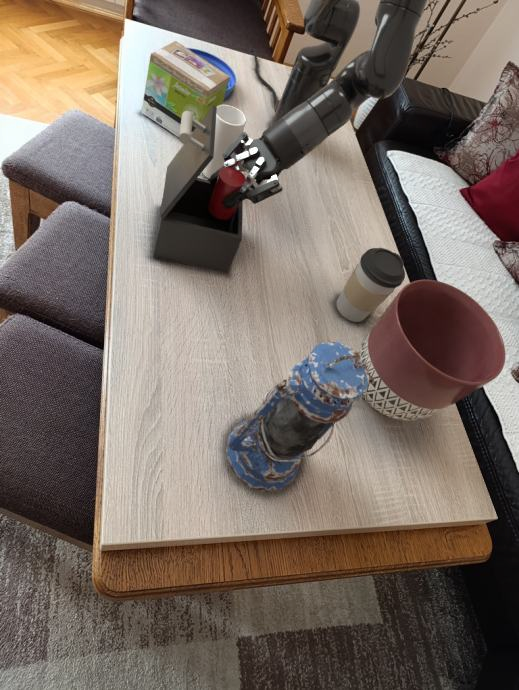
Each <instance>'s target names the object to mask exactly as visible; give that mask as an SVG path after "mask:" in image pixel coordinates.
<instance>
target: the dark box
mask: <svg viewBox="0 0 519 690" xmlns="http://www.w3.org/2000/svg"><path fill="white" fill-rule="evenodd" d="M213 190H214V187H213V186H212V185H211V183H210V182H209V179H204V178H201V177H197V179H196V180H195V181H194V182H193V184H192V185H191V186H190V187H189V188H188V190H187V191H186V192H185V193H184V195H183V196H182V197H181V198H180V199H179V201H178V202H177V203H176V204H175V206H174V207H173V208H172V209H171V211H170V212H169V213H168V214H167V215H166V217H165V218H164V219H163V218H162V217H160V213H161V206H162V202H161V203H160V206H159V207H160V208H159V212H158V213H159V214H158V221H157V228H156V234H155V240H154V246H153V247H154V248H153V253H152V257H153V258H154V259H158V260H163V261H169V262H173V263H177V264H180V265H181V264H182V265H186V266H191V267H196V268H199V269H200V268H201V269H205V270H209V271H215V272H219V273H222V274H223V273H224V274H229V272H230V270H231V267H232V264H233V262H234V259H235V257H236V254H237V253H238V250H239V247H240V246H241V243H242V240H243V211H244V210H243V209H244V208H243V207H244V206H243V205H244V203H243V202H244V200H243V201H242V202H241V203H239V204H238V205H237V207H236V210H235V213H234V215H233V217H232V218H231V219H228V220H221V219H218V218H216V217H214V216H213V215H212V214H211V213H210V212H209V209H208V206H209V203H210V200H211V196H212V193H213ZM162 199H163V197H162V198H161V200H162Z"/></svg>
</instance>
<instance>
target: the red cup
mask: <svg viewBox="0 0 519 690" xmlns="http://www.w3.org/2000/svg"><path fill="white" fill-rule="evenodd" d="M245 181H246V176H245V175H244V173H243V172H242V171H238V170H237V169H234V168H230V167H226V168H222V169H221V170H220V171H219V174H218V177H217V180H216V184H215V187H214V190H213V193H212V196H211V200H210V203H209V206H208V209H209V212H210V213H211V214H212V215H213V216H214V217H216V218H218V219H221V220H228V219H231V218H232V217H233V215H234V213H235V210H236V207H237V206H235V207H234V208H232V209H230V208H229V209H226V207H225V206H224V205H223V204H222V200H223V199H225V198H226V197H227V196H229V195H230V194H231V193H233V192H234V191H235V190H237V189H238V190H240V188H241V186H242V185H243V184H244V182H245Z"/></svg>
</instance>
